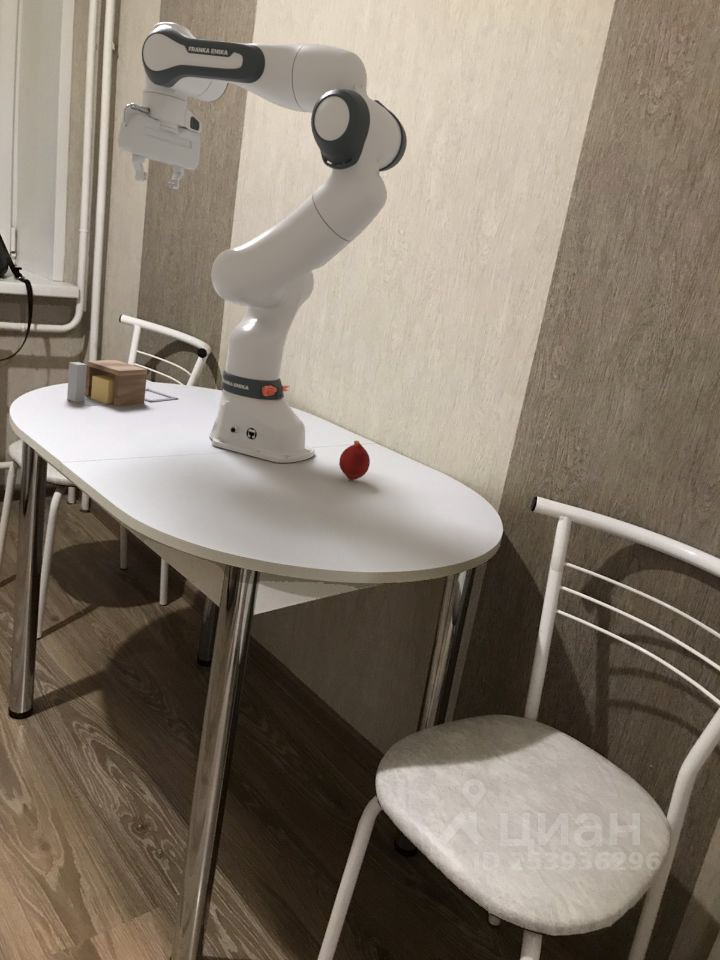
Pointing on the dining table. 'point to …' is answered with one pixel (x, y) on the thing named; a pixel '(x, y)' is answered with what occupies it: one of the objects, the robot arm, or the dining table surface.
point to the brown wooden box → (119, 380)
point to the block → (103, 388)
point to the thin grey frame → (160, 394)
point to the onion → (354, 461)
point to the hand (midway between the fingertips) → (157, 184)
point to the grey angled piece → (79, 385)
